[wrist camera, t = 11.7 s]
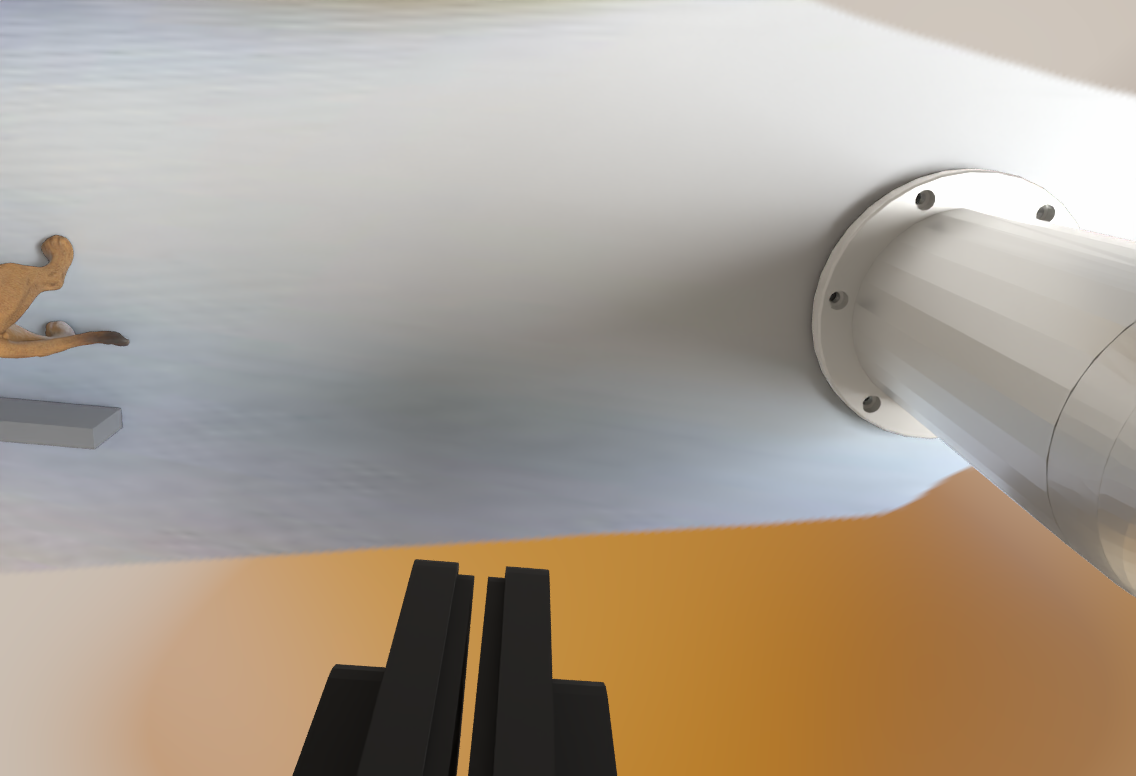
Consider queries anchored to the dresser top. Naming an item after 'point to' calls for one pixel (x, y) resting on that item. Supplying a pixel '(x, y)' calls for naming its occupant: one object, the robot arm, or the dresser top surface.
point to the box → (57, 423)
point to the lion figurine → (14, 288)
